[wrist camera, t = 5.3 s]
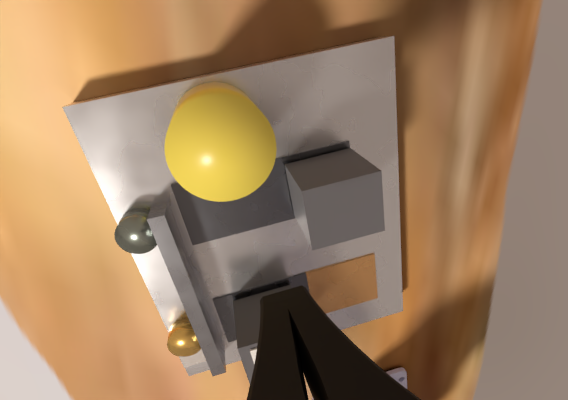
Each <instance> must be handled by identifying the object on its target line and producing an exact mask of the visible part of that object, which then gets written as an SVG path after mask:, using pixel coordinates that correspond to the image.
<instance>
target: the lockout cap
mask: <svg viewBox="0 0 568 400" xmlns="http://www.w3.org/2000/svg"><path fill="white" fill-rule="evenodd" d="M164 148H165V157H166V162H167V165H168V168H169V170H170V172H171V174H172V175H173V177H174V178H175V180H176V181H177V182H178V183H179V184H180V185H181V186H182V187H183V188H184V189H185V190H187V191H188V192H190V193H191V194H193V195H195V196H197V197H199V198H202V199H205V200H209V201H216V202H226V201H233V200H237V199H240V198H243V197H245V196H247V195H249V194H251V193H252V192H254V191H255V190H257V189H258V188H259V187H260V186H261V185H262V184H263V183H264V182H265V181H266V179H267V178H268V176H269V175H270V173H271V171H272V169H273V166H274V163H275V159H276V151H277V148H276V139H275V134H274V131H273V129H272V127H271V124H270V123H269V121H268V119H267V118H266V117H265V115H264V114H263V113H262V112H261V111H260V110H259V109H258V107H257V106H256V105H255V104H254V103H253V102H252V101H251V100H250V98H249V97H248V96H247V95H246V94H245V93H243V92H242V91H241V90H239V89H238V88H236V87H234V86H232V85H229V84H226V83H221V82H208V83H203V84H200V85H197V86H195V87H193V88H192V89H190V90H189V91H187V92H186V93H185V94H184V95H183V96H182V97H181V99H180V100H179V102H178V103H177V105H176V107H175V110H174V113H173V116H172V118H171V121H170V124H169V127H168V130H167V133H166V138H165V146H164Z"/></svg>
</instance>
